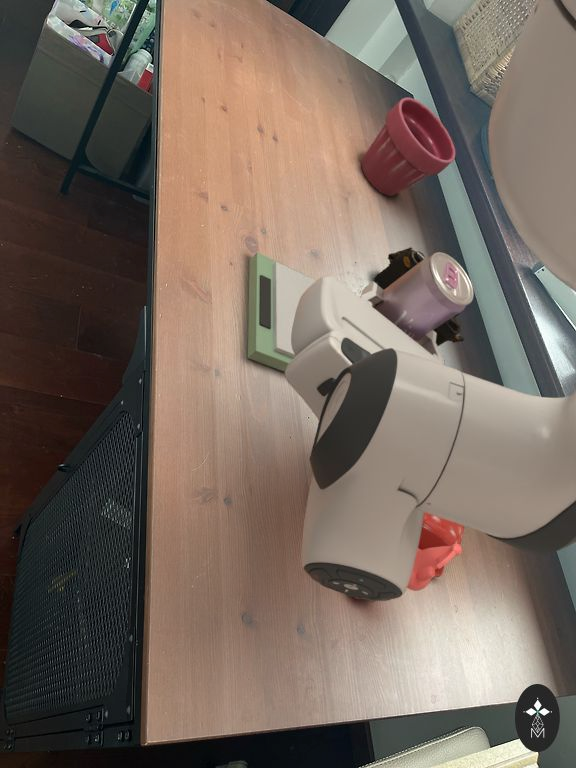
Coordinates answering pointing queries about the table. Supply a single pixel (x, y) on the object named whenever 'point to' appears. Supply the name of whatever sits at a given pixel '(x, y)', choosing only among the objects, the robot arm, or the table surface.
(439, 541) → the butter dish
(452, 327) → the film camera
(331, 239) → the table surface
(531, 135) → the robot arm
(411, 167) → the flower pot
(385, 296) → the beverage can
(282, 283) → the scale
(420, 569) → the figurine
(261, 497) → the table surface
